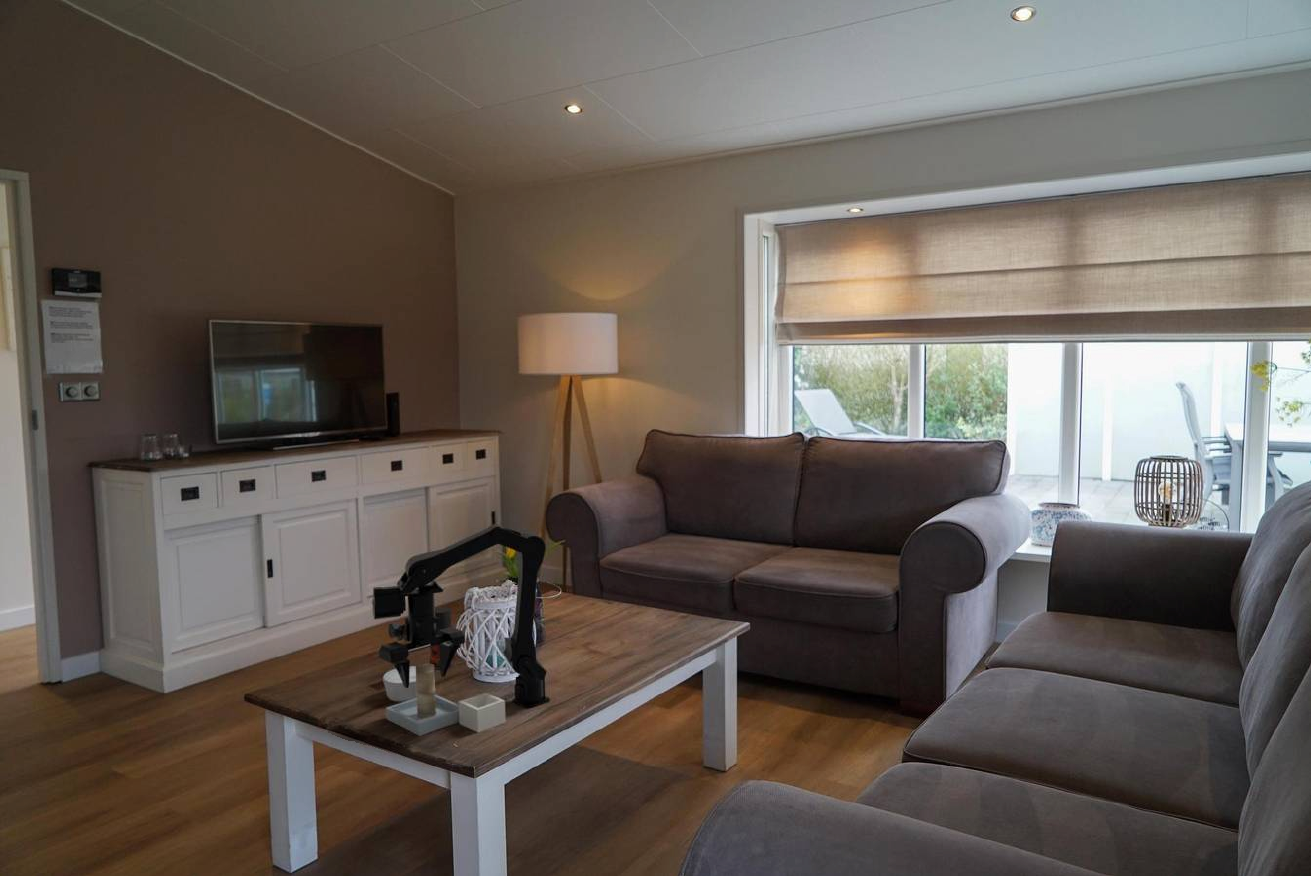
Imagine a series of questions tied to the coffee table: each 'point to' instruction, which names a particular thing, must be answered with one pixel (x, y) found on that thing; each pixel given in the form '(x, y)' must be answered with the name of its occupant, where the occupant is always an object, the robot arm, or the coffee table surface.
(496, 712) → the white open box
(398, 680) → the ramekin
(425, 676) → the beech dowel
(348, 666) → the coffee table surface
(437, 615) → the deodorant
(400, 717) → the slate tray
